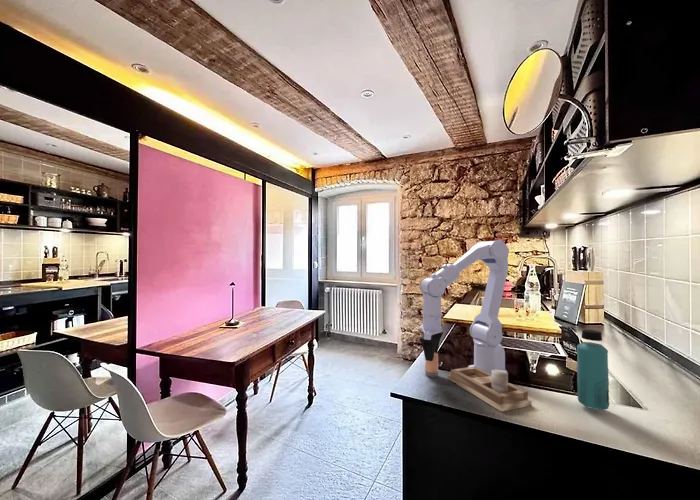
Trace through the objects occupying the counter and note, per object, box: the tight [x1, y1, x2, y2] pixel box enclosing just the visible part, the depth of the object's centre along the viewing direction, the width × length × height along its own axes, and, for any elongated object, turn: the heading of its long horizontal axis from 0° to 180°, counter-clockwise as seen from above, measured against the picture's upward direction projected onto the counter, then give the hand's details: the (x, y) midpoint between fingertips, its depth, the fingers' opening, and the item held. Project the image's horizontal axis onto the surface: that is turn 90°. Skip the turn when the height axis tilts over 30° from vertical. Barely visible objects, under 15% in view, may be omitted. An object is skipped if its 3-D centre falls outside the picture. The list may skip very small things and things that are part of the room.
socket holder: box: [447, 366, 532, 412], centre depth 88 cm, size 10×21×7 cm, turn 19°
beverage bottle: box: [576, 329, 611, 411], centre depth 78 cm, size 6×7×20 cm
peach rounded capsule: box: [424, 352, 439, 378], centre depth 99 cm, size 4×4×7 cm
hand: (431, 356), depth 99 cm, fingers open, 7 cm apart
